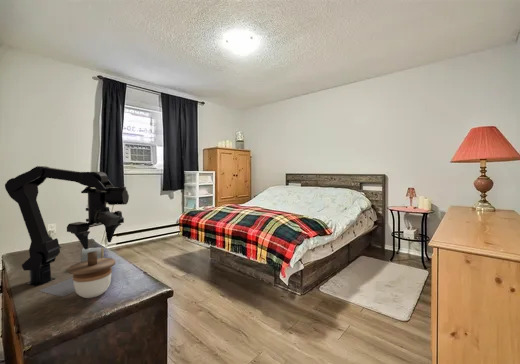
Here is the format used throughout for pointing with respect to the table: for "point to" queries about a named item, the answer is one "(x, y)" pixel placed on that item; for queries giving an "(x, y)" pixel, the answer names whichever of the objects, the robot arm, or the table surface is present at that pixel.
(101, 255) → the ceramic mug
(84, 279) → the lidded jar
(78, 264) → the lid
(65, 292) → the mat
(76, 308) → the table surface
